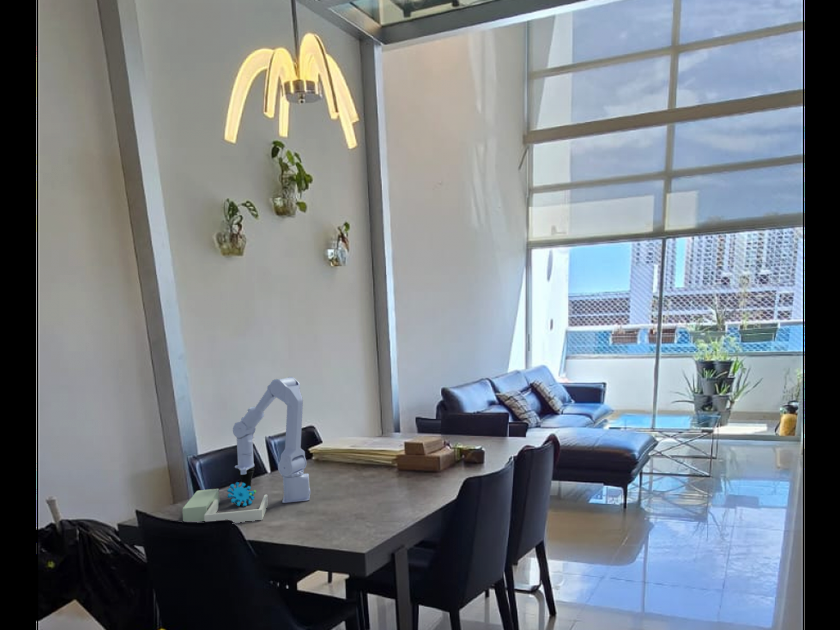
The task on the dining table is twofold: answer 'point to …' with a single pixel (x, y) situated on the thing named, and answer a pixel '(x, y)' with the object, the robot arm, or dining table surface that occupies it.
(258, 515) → the shallow white tray
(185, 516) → the pale green rounded block
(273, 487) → the dining table surface
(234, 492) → the gear
